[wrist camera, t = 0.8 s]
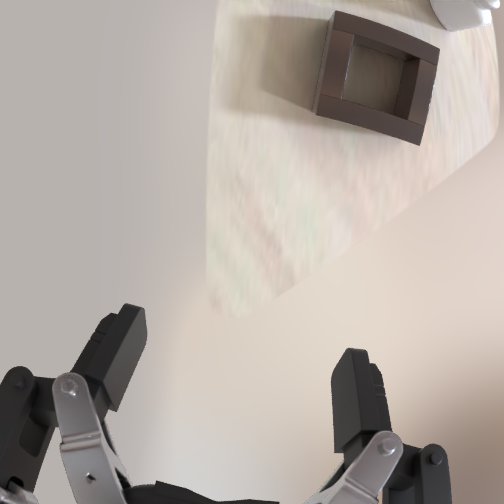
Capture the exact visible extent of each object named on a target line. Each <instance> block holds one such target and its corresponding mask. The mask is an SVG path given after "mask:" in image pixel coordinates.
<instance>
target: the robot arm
mask: <svg viewBox="0 0 504 504" xmlns="http://www.w3.org/2000/svg"><path fill="white" fill-rule="evenodd" d="M146 340H147V327H146V319H145V310H144V308H142V307H138V306H135V305H131V304H127V303H126V304H124V305H123V307H122V308H121V310H120V312H119V313H118V314H114V313H110V314H109V315H108V316H106V317H105V318H103V319H102V320H101V321H100V323H99V325H98V326H97V328H96V330H95V332H94V333H93V334H92V336H91V338H90V340H89V341H88V343H87V344H86V346H85V348H84V349H83V351H82V353H81V355H80V356H79V358H78V360H77V362H76V363H75V365H74V367H73V368H72V370H71V371H70V372H69V373H64V374H62V375H60V376H59V377H57V378H44V377H36V376H33V374H32V373H31V371H30V370H29V369H28V368H26V367H23V366H17V367H14V368H12V369H10V370H9V371H8V372H7V374H6V375H5V377H4V379H3V381H2V382H1V384H0V504H39V503H38V500H37V499H36V497H35V496H34V495H33V491H34V488H35V485H36V481H37V478H38V475H39V472H40V469H41V466H42V463H43V460H44V457H45V454H46V451H47V448H48V446H49V443H50V440H51V438H52V435H53V432H54V430H55V427H59V429H60V433H61V437H62V443H60V453H61V457H62V460H63V464H64V467H65V471H66V474H67V477H68V480H69V483H70V486H71V489H72V492H73V494H74V497H75V500H76V502H77V504H279V502H274V501H262V500H252V499H247V500H236V501H223V502H222V501H221V502H218V501H214V500H211V499H209V498H206V497H204V496H202V495H199V494H197V493H195V492H193V491H191V490H189V489H187V488H182V487H179V486H175V485H171V484H167V483H164V482H160V481H156V483H155V485H153V484H150V485H149V484H147V485H138V486H133V485H132V483H131V481H130V478H129V476H128V474H127V472H126V469H125V467H124V466H123V464H122V462H121V460H120V458H119V455H118V453H117V450H116V448H115V445H114V442H113V440H112V437H111V434H110V431H109V428H108V425H107V423H106V419H105V416H106V413H107V411H108V409H110V410H112V411H115V412H117V410H118V408H119V405H120V403H121V400H122V398H123V396H124V393H125V391H126V388H127V386H128V384H129V382H130V379H131V377H132V375H133V372H134V370H135V368H136V366H137V363H138V361H139V359H140V356H141V354H142V352H143V350H144V348H145V345H146ZM383 386H384V383H383V378H382V374H381V372H380V371H379V369H378V368H377V366H376V365H375V364H372V363H369V358H368V353H367V351H366V350H363V349H354V348H347V349H346V350H345V352H344V354H343V355H342V357H341V359H340V360H339V362H338V364H337V365H336V367H335V368H334V371H333V373H332V377H331V392H332V406H333V426H334V453H344V460H342V462H341V463H340V464H339V465H338V467H337V468H336V469H335V470H334V472H333V473H332V474H331V475H330V476H329V478H328V479H327V480H326V481H325V483H324V484H323V485H322V486H321V487H320V488H319V489H318V490H317V492H316V493H315V494H314V495H312V496H311V497H310V498H309V499H308V500H306V501H305V502H304V503H303V504H378V502H379V500H378V499H377V496H378V494H379V492H380V491H381V489H382V488H383V498H382V504H452V498H451V497H452V496H451V484H450V475H449V466H448V459H447V454H446V452H445V450H444V449H443V448H442V447H441V446H439V445H437V444H429V445H427V446H426V447H424V448H423V449H421V448H417V447H413V446H410V445H406V444H404V443H402V441H401V439H400V438H399V436H398V435H396V434H395V433H393V431H392V428H391V422H390V416H389V410H388V404H387V399H386V397H385V394H386V393H385V389H384V387H383Z"/></svg>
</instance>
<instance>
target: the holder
mask: <svg viewBox="0 0 504 504" xmlns="http://www.w3.org/2000/svg"><path fill="white" fill-rule="evenodd" d="M353 43H354V44H357V45H361V46H364V47H367V48H370V49H373V50H376V51H379V52H382V53H385V54H388V55H390V56H393V57H396V58H398V59H401V60H404V61H405V62H404V67H403V73H402V78H401V83H400V88H399V93H398V97H397V102H396V106H395V111H394V115H391V114H388V113H385V112H382V111H379V110H376V109H373V108H370V107H366V106H363V105H360V104H356V103H353V102H349V101H346V100H342V96H343V91H344V86H345V81H346V76H347V71H348V66H349V61H350V55H351V50H352V44H353ZM439 53H440V49H439V48H437V47H435V46H433V45H431V44H429V43H426V42H424V41H422V40H420V39H417V38H415V37H413V36H411V35H408V34H406V33H403V32H401V31H398V30H396V29H393V28H390V27H388V26H385V25H382V24H379V23H376V22H373V21H370V20H367V19H364V18H361V17H358V16H354V15H351V14H347V13H344V12H340V11H335V12H334V14H333V15H332V17H331V18H330V20H329V23H328V29H327V35H326V40H325V46H324V51H323V57H322V62H321V67H320V73H319V78H318V83H317V88H316V94H315V98H314V103H313V108H312V112H313V113H314V114H315V115H318V116H322V117H327V118H331V119H335V120H339V121H342V122H346V123H350V124H353V125H357V126H361V127H364V128H367V129H371V130H374V131H377V132H380V133H384V134H387V135H390V136H393V137H396V138H399V139H402V140H404V141H407V142H410V143H413V144H416V145H418V146H420V143H421V139H422V136H423V132H424V128H425V123H426V119H427V115H428V111H429V106H430V102H431V97H432V92H433V88H434V82H435V77H436V71H437V65H438V59H439Z"/></svg>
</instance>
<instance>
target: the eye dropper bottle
mask: <svg viewBox="0 0 504 504" xmlns="http://www.w3.org/2000/svg"><path fill="white" fill-rule="evenodd" d="M430 3H431V6H432V8H433V11H434V13H435V15H436V16H437V18H438V19H439V21H440V22H441V23H442V25H443V26H444V27H445V28H446V29H447V30H448V31H450V32H456V31H461V30H465V29H470V28H475V27H480V26H485V25H489V24H490V23H491V13H490V10H491V9H495V8H498V7H499V6H500V1H499V0H430Z"/></svg>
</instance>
